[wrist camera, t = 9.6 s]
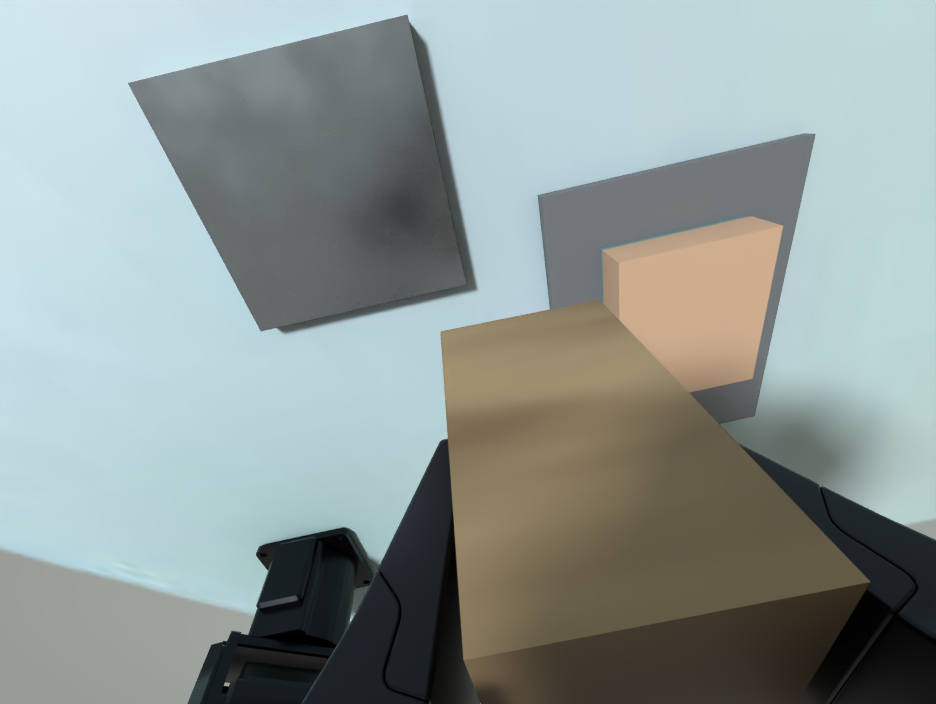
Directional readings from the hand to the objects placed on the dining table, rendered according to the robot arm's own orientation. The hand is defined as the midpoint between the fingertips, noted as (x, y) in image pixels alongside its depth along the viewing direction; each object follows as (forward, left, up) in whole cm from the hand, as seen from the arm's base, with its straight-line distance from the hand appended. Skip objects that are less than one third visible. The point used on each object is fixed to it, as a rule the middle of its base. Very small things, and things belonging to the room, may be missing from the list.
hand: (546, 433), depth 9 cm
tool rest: (+5, +6, -12) cm, 14 cm away
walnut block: (0, 0, -2) cm, 2 cm away
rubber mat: (-5, -9, -12) cm, 16 cm away
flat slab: (-8, -9, -10) cm, 16 cm away
